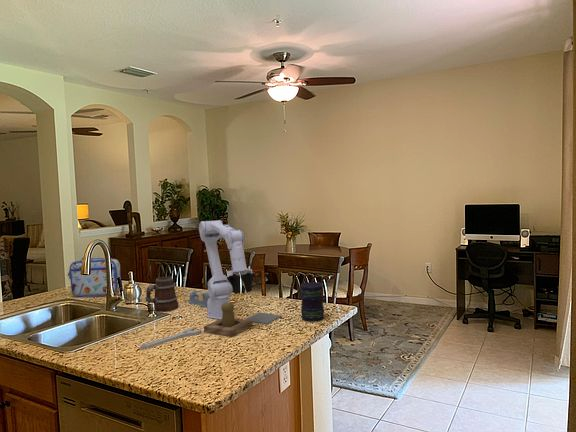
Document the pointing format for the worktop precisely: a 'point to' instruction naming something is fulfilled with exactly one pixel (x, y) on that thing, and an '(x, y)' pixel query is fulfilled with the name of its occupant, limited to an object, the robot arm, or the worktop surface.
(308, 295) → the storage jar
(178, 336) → the adjustable wrench
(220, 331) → the walnut holder
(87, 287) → the lunch box
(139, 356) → the worktop surface
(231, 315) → the olive brown rounded piece
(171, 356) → the worktop surface
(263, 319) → the rubber mat
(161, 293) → the mug
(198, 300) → the vise
